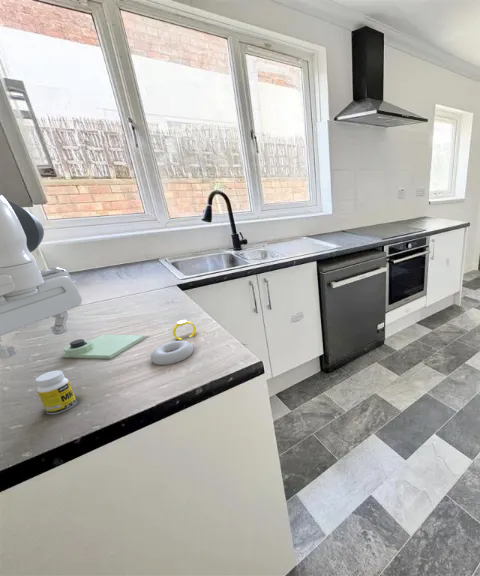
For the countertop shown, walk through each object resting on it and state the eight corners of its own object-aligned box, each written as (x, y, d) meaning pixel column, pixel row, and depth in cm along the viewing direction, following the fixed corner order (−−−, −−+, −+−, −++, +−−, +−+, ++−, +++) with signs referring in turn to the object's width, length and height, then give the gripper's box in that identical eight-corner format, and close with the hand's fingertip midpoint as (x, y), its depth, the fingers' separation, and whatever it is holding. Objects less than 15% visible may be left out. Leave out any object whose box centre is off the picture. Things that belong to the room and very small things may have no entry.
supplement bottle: (70, 412, 66) (55, 379, 64) (41, 418, 65) (26, 384, 62) (82, 398, 71) (69, 367, 68) (55, 403, 69) (41, 371, 66)
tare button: (68, 348, 87) (66, 344, 87) (79, 343, 90) (77, 338, 89) (78, 349, 87) (76, 344, 86) (88, 343, 90) (87, 339, 89)
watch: (195, 333, 100) (191, 317, 98) (198, 336, 99) (194, 319, 97) (174, 340, 96) (169, 323, 94) (177, 343, 94) (172, 326, 93)
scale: (61, 359, 87) (57, 350, 86) (102, 338, 98) (99, 329, 97) (109, 360, 86) (106, 351, 85) (145, 339, 97) (142, 330, 96)
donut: (185, 365, 83) (199, 346, 92) (182, 354, 82) (197, 336, 91) (144, 370, 81) (163, 350, 91) (141, 358, 80) (160, 339, 89)
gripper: (51, 265, 68) (73, 321, 73) (-88, 298, 49) (-46, 372, 53) (78, 265, 68) (98, 322, 72) (-52, 298, 48) (-13, 373, 53)
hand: (36, 344), depth 63 cm, fingers open, 8 cm apart
